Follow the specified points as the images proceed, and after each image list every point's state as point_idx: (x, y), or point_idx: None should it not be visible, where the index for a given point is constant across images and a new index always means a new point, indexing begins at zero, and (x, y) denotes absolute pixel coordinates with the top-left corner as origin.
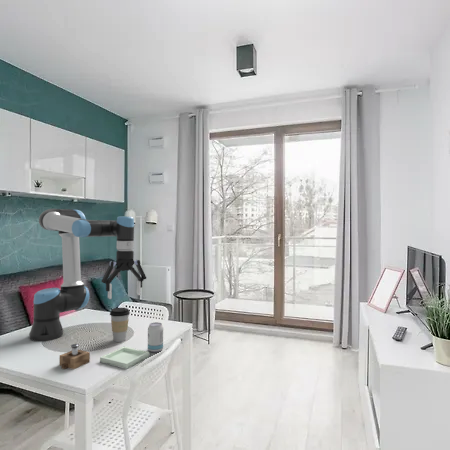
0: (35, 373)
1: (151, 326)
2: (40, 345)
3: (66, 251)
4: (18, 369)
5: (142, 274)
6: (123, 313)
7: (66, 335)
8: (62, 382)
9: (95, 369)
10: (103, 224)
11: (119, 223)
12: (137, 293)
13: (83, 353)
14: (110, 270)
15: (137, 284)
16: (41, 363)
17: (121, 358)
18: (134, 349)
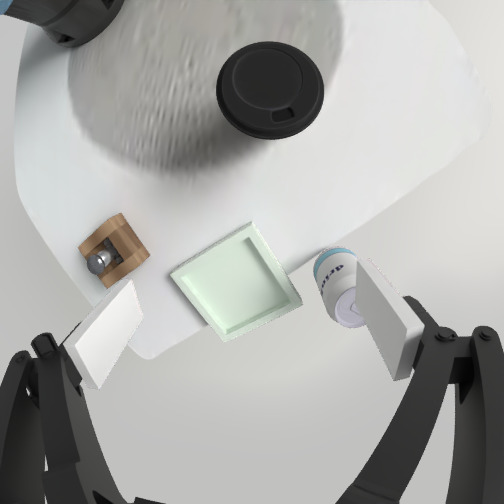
0: (59, 258)
1: (335, 315)
2: (63, 78)
3: None
4: (34, 221)
5: (457, 422)
6: (278, 130)
7: (129, 11)
8: None
9: (161, 303)
10: None
11: None
12: (359, 282)
13: (125, 264)
14: (35, 483)
15: (387, 326)
16: (61, 208)
17: (226, 285)
18: (272, 266)
